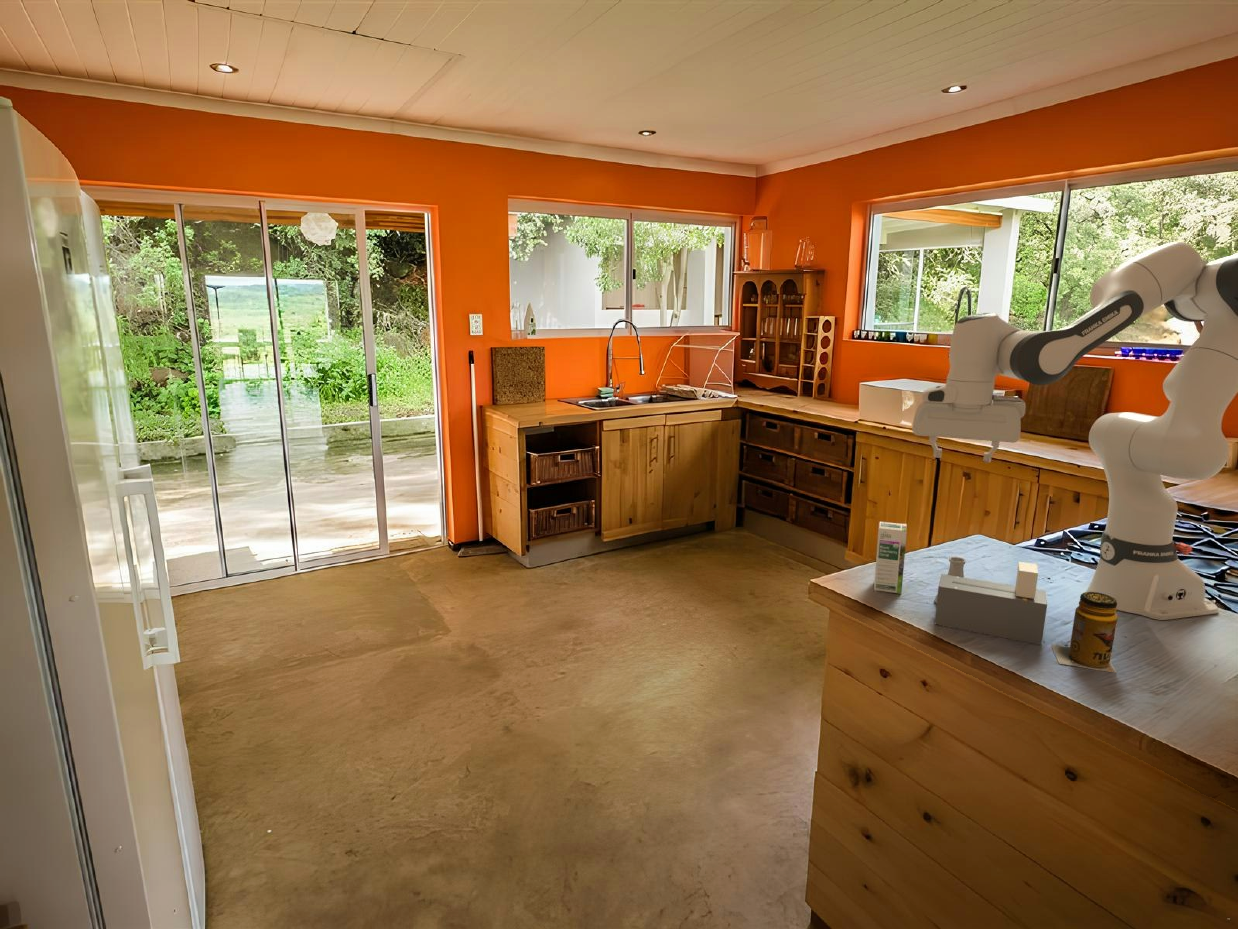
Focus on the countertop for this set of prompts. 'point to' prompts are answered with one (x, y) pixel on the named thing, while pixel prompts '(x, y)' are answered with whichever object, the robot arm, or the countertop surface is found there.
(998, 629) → the console
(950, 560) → the flask
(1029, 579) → the fader
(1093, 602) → the condiment
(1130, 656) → the countertop surface
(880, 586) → the syrup box
